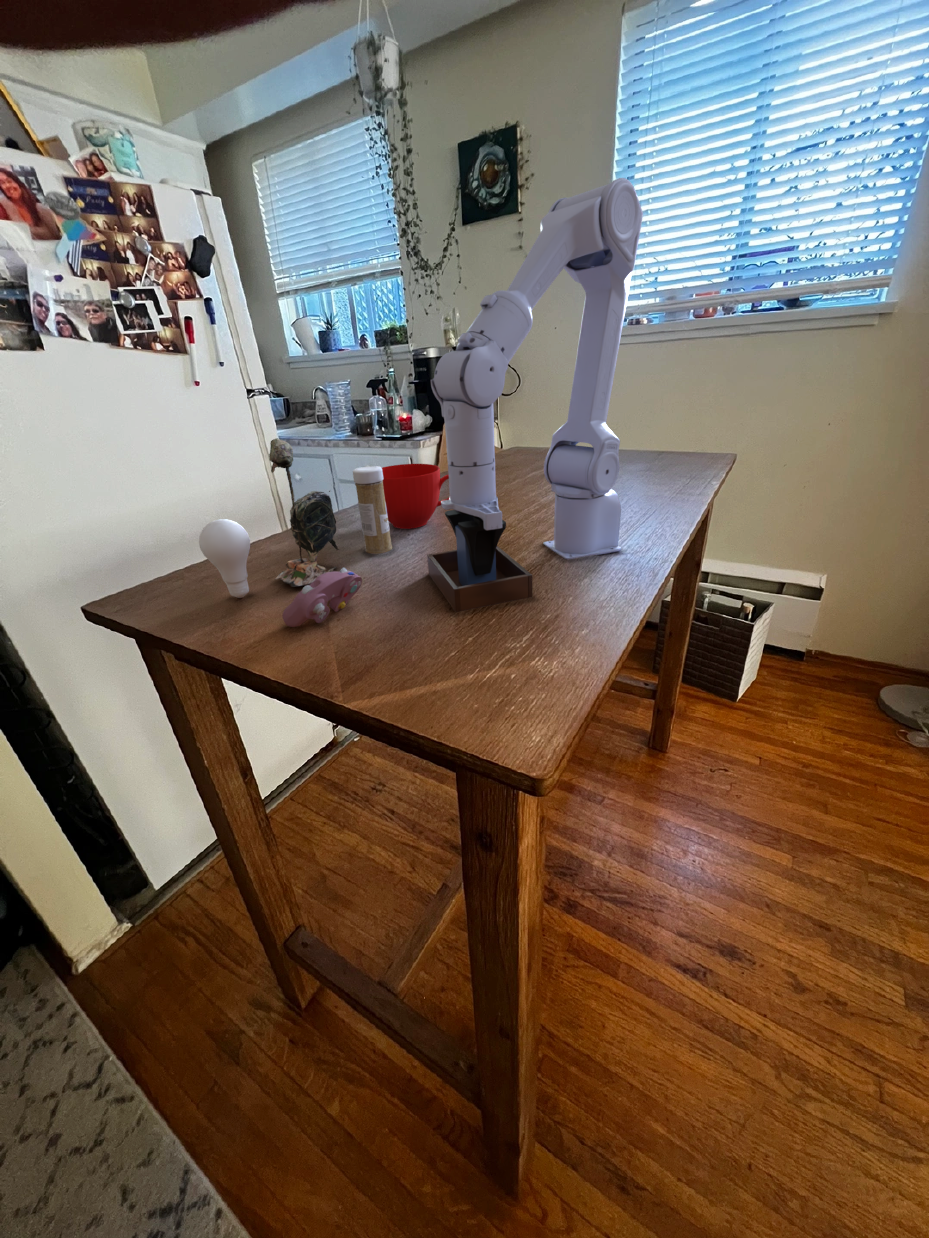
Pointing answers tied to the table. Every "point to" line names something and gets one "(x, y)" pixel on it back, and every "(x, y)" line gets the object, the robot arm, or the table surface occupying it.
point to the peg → (469, 563)
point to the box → (506, 587)
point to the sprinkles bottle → (372, 509)
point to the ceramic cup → (411, 493)
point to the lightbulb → (227, 553)
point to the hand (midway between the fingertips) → (476, 567)
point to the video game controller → (322, 597)
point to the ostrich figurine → (305, 523)
